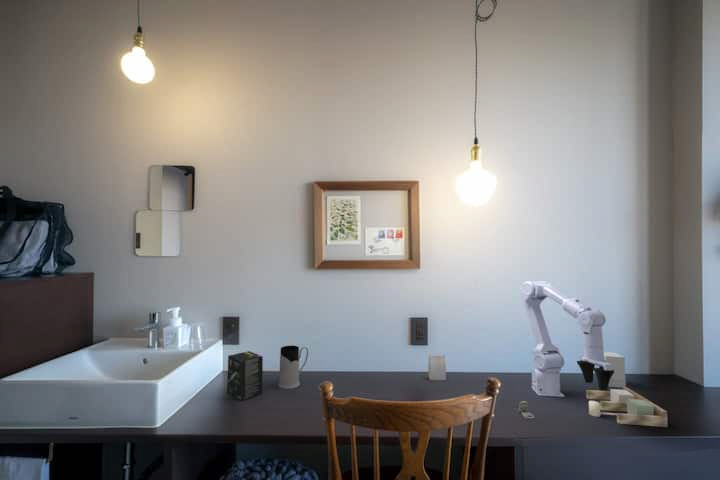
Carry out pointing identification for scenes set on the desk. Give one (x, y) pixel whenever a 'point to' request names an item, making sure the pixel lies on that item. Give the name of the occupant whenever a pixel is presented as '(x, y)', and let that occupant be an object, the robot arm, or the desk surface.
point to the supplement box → (616, 369)
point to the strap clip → (524, 410)
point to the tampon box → (245, 375)
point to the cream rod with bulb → (632, 408)
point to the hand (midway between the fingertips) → (596, 386)
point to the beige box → (436, 367)
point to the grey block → (620, 395)
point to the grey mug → (290, 366)
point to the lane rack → (633, 419)
